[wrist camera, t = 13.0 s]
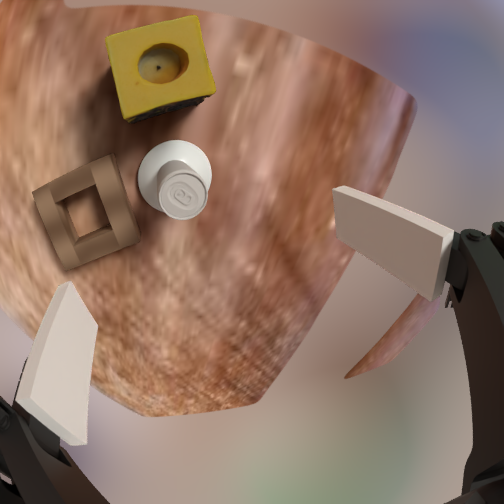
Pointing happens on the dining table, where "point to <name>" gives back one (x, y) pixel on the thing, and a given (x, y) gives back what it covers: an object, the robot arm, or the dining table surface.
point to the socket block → (114, 201)
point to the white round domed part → (164, 154)
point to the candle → (160, 68)
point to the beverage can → (180, 190)
